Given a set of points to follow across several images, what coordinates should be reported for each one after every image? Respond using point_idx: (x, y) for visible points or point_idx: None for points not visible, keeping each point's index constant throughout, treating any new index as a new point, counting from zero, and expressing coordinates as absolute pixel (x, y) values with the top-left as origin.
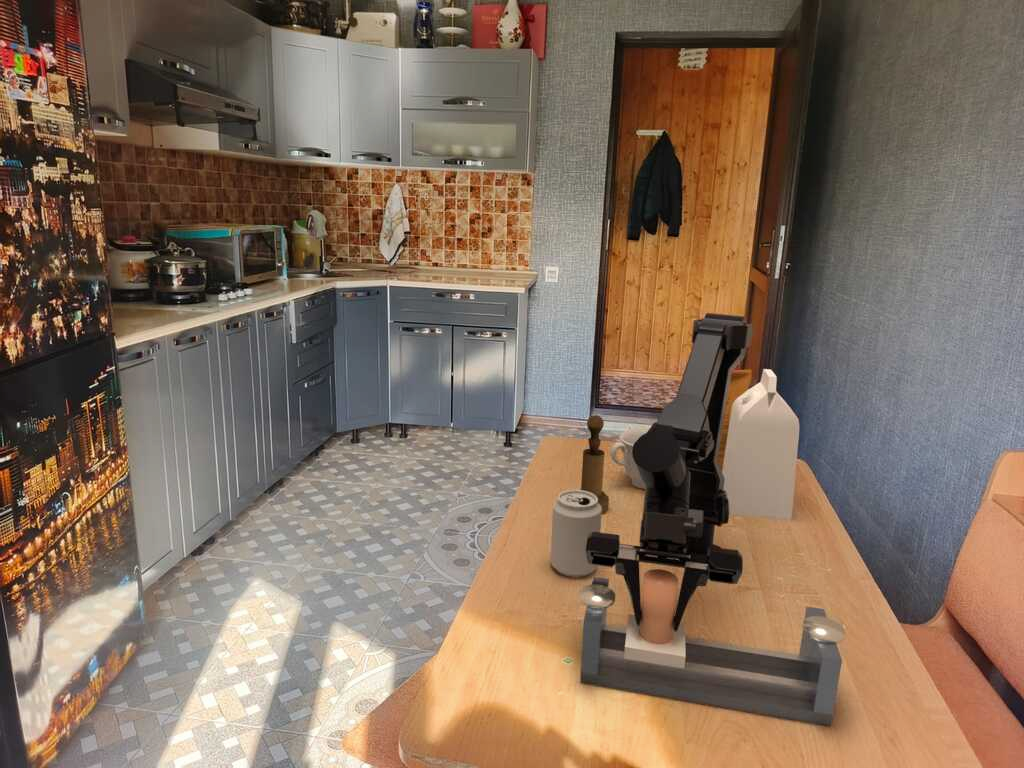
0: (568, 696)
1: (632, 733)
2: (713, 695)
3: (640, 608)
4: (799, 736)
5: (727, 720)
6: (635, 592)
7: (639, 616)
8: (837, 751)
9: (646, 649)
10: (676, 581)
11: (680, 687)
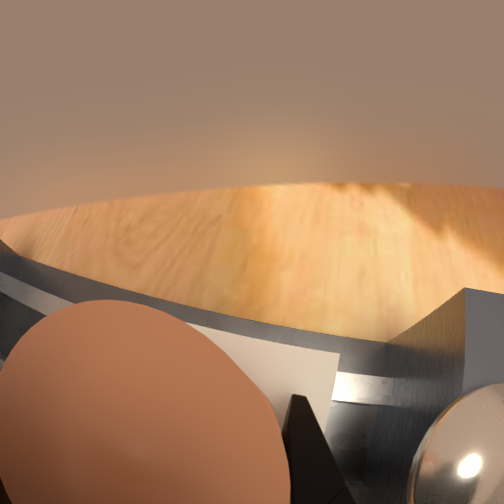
0: (427, 309)
1: (311, 228)
2: (132, 293)
3: (290, 431)
4: (57, 241)
5: (132, 266)
6: (322, 491)
7: (294, 408)
8: (38, 222)
9: (269, 345)
10: (5, 376)
11: (192, 311)
